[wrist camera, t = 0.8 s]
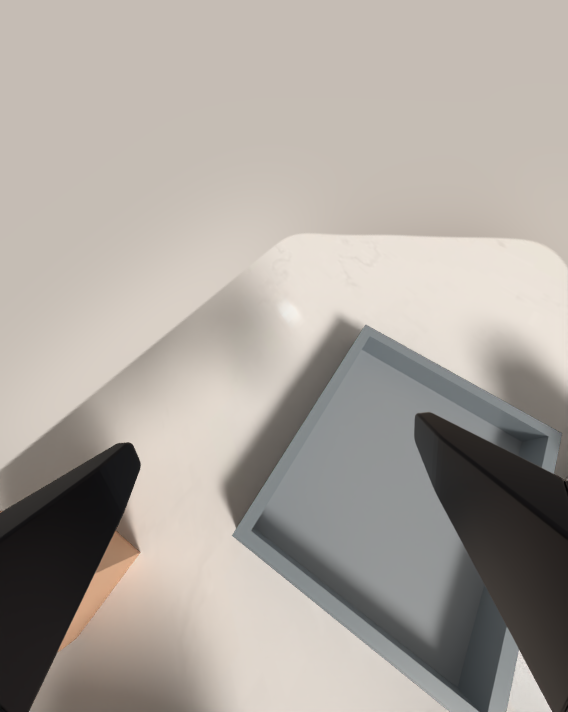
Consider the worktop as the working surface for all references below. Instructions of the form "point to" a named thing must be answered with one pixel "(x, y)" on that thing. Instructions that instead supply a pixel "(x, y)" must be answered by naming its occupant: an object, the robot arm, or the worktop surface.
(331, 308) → the worktop surface
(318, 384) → the worktop surface
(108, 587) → the carton
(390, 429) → the tray
